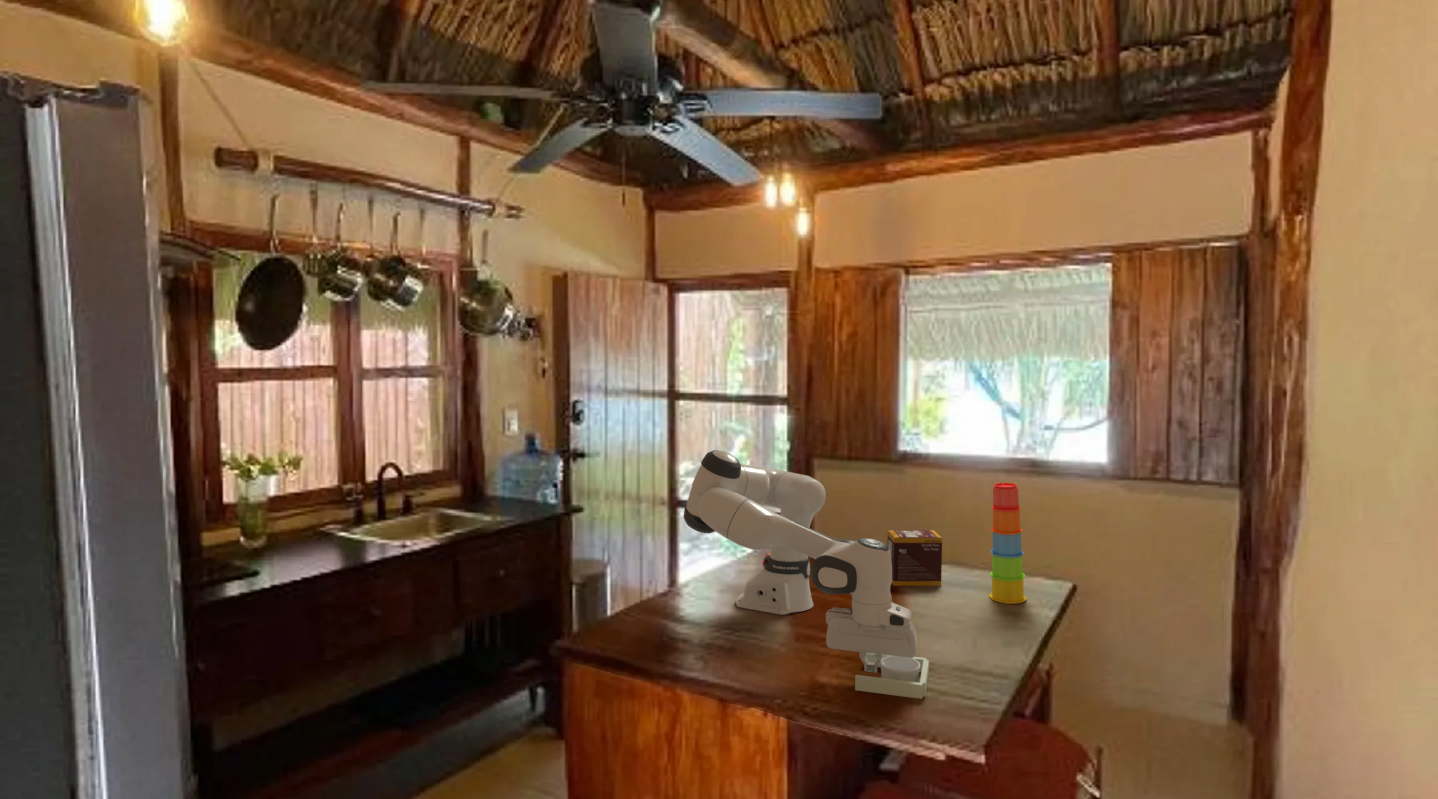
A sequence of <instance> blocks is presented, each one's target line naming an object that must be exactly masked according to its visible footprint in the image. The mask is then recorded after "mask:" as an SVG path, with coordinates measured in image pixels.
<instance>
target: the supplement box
mask: <svg viewBox="0 0 1438 799" xmlns="http://www.w3.org/2000/svg"><path fill="white" fill-rule="evenodd" d="M886 539H887V544H886V546H887V547H888V548H889V551H890V555H891V563H892V583H891V585H892V586H893V587H894V586H897V587H899V586H900V587H902V586H903V587H906V586H907V587H909V586H910V587H914V586H915V587H941V586H942V567H943V566H942V563H943V537H942V536H941V535H940V534H939V533H937V532H936V530H934V529H924V530H923V529H921V530H918V529H916V530H915V529H910V530H909V529H904V530H903V529H897V530H894V529H893V530H890V529H888V530H887V537H886Z"/></svg>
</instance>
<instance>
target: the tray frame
mask: <svg viewBox="0 0 1438 799" xmlns="http://www.w3.org/2000/svg"><path fill="white" fill-rule="evenodd" d="M887 656H889V655H883V656H882V658H884V657H887ZM866 658H867V660H868V661H869V662H875V661H876V659H877V658H875V654H873V653H867V654H866ZM913 659H915V660H917V661H918V662H919V663H920V669H919V673H920V679H919V681H918V682H911V681H903V680H895V679H887V678H882V677H878V676H871V675H870V676H868V675H863V674H862V675H860V674H855V677H854V679H855V680H854V683H855V684H854V686H855V687H854V690H855V691H860V692H867V693H875V694H883V695H890V696H895V697H905V698H912V699H920V700H922V699H923V698H926V695H927V688H928V680H929V675H930V659H929V660H928V659H927V658H926V657H922V656H921V657H918V656H914V657H913ZM878 668H881V666H880V662H879V664H878Z"/></svg>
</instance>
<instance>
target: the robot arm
mask: <svg viewBox="0 0 1438 799" xmlns="http://www.w3.org/2000/svg"><path fill="white" fill-rule="evenodd" d="M700 463H701V464H700V466H699V468H698V470H697V472H696V474H695V476H694V478H693V481H692V483H691V488H690V491H689V494H688V499H687V502H686V505H685V506H684V511H683V520H684V521H685V523H686V525H687V526H688V527H689V528H691V529H692V530H694V531H696V532H699V533H701V534H713V533H715V532H716V533H718V534H719V535H720V536H722V537H724V538H725V539H727V540H728V541H731V542H732V543H734V544H736V545H738V546H740V547H744V548H746V549H748V550H749V549H751V550H755V551H756V550H762V549H763V550H765V549H768V548H769V552H768V553H767V554H765V556H764V557H763V560H762V566H763V568H762V569H760V570H759V571H758V572H756V573H754V575H752V576H751V577H750V578H748V580H747V581H746V583H745V586H744V589H743V590H744V591H743V593H741V594H739V595H738V597H736V600H735V605H736V607H738V608H742V609H748V610H752V611H753V610H754V611H759V612H763V613H769V614H770V613H771V614H775V615H781V616H783V615H788V614H790V613H792V614H793V613H799V612H804V611H807V610H810V609H812V608H813V607H814V602H813V598H812V592H811V587H810V579H809V578H811V581H812V583H813V584H814V586H815V587H816V589H818V590H819V592H822V593H824V594H826V595H848V594H850V595H851V608H846V607H845V608H842V607H841V608H839V607H832V608H831V609H828V610H827V611H826V613H825V623H826V625H827V630H826V637H825V638H826V639H825V645H827V647H828V648H829V649H832V650H839V651H840V650H841V651H849V652H857V653H859V655H858V656H859V658H860V660H861V662H862V663H863V666H864V670H863V671H864V672H869V673H878V668H879V667H878V664H879V662H880V661H881V659H882V656H883V655H889V656H898V657H906V658H913V657H916V656H917V654H918V638H917V631H916V627H915V624H914V622H912V619H913V617H912V615H913V614H912V611H911V610H910V609H909V608H906V607H905V606H901V605H900V604H897V603H895V602H893V600H892V598H893V597H892V594H891V587H892V586H891V585H892V563H891V555H890V551H889V548H888V547H887V544H885V543H884V542H882V541H880V540H878V539H874V538H867V537H861V538H860V537H859V538H858V539H856V540H855V541H854V540H850V539H841V538H833V537H831V536H828V535H826V534H824V533H821V532H819V531H817V530H814V528H813V529H812V528H810V527H811V524H812V521H813V519H814V517H815V515H816V514H817V513H818V512H819V511H821V509H822V508H823V507H824V504H825V502H826V497H827V493H826V488H825V486H824V485H823V484H822V482H820V481H819V480H817V479H815V478H813V477H811V476H810V475H806V474H801V473H796V472H790V471H786V470H781V469H776V468H769V467H761V466H755V465H750V464H749V465H748V464H743V463H740V461H739V459H738V458H737V457H736V456H734V455H733V454H731V453H729V452H728V451H723V450H715V449H714V450H710V451H708V452H706V454H705V455H704V457H703V458H702V460H701V462H700ZM767 507H770V508H775V509H779V510H780V514H779V513H777V512H775V511H773V510H771V509H769V508H767ZM810 558H812V559H814V560H813V562H812V563H811V562H810ZM810 564H811V565H810ZM867 653H873V654H875V658H877V659H876V661H875V662H869V661H868V660H867V658H866V654H867Z"/></svg>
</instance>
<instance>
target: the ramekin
mask: <svg viewBox="0 0 1438 799" xmlns="http://www.w3.org/2000/svg"><path fill="white" fill-rule="evenodd" d="M880 666H881V667H880V672H881V678H887V679H895V680H903V681H911V682H919V677H920V676H919V675H920V672H919V669H920V663H919V662H918V661H917V660H915V659H913V658H906V657H898V656H887V657H884V658H882V659H881V661H880Z"/></svg>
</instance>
